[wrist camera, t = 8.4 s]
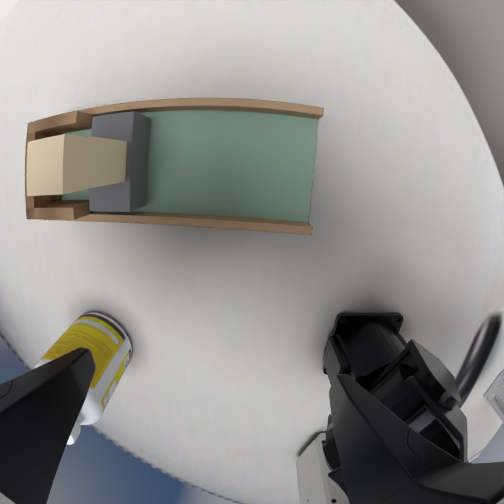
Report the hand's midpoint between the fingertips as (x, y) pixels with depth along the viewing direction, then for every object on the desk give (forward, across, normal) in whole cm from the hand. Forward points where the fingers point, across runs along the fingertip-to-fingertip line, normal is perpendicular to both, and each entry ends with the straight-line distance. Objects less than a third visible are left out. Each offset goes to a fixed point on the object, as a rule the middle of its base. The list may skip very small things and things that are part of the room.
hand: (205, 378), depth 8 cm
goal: (+12, +12, -7) cm, 19 cm away
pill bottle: (+12, +12, +9) cm, 19 cm away
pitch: (+12, +5, -7) cm, 15 cm away
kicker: (+11, +7, -7) cm, 15 cm away
